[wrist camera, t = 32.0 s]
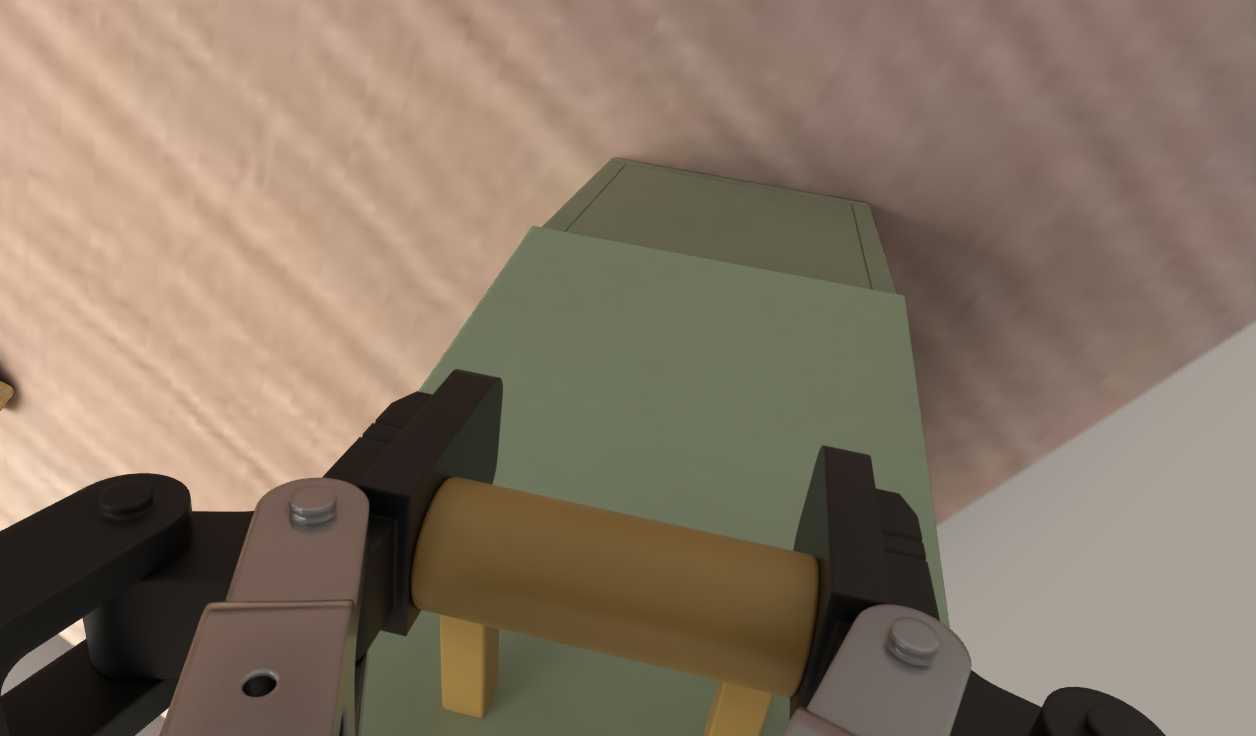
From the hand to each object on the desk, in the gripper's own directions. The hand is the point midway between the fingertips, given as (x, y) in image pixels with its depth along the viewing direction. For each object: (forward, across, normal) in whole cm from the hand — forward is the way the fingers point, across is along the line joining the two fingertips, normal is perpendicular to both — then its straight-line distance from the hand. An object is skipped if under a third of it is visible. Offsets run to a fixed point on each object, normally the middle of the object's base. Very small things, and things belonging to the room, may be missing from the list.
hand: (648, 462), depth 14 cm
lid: (+5, 0, +3) cm, 6 cm away
